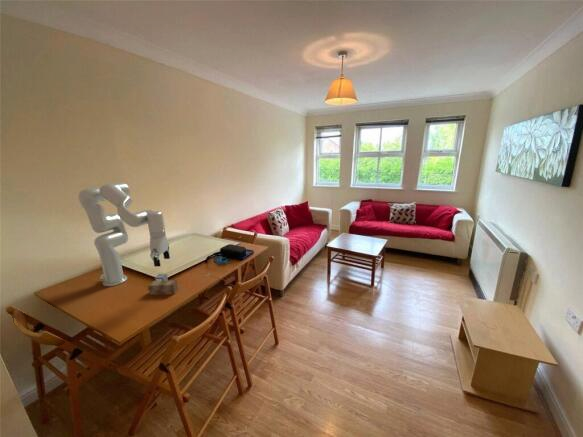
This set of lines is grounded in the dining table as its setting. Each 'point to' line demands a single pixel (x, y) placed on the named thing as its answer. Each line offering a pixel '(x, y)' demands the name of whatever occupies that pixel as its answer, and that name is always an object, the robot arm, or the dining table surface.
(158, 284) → the walnut screen
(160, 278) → the marked cube
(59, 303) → the dining table surface
